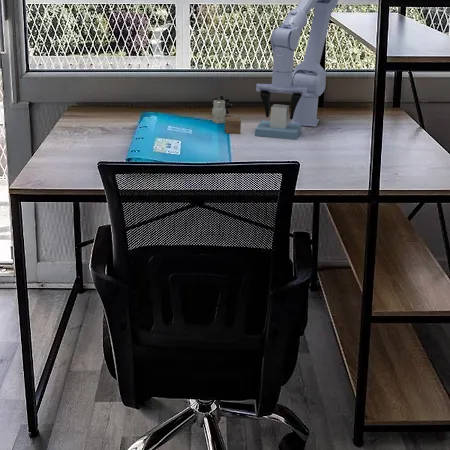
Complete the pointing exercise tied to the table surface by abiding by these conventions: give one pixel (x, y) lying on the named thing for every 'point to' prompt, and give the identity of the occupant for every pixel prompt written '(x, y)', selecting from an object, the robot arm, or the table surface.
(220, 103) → the valve
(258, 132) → the base board
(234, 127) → the walnut block
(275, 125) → the white block
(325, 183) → the table surface
